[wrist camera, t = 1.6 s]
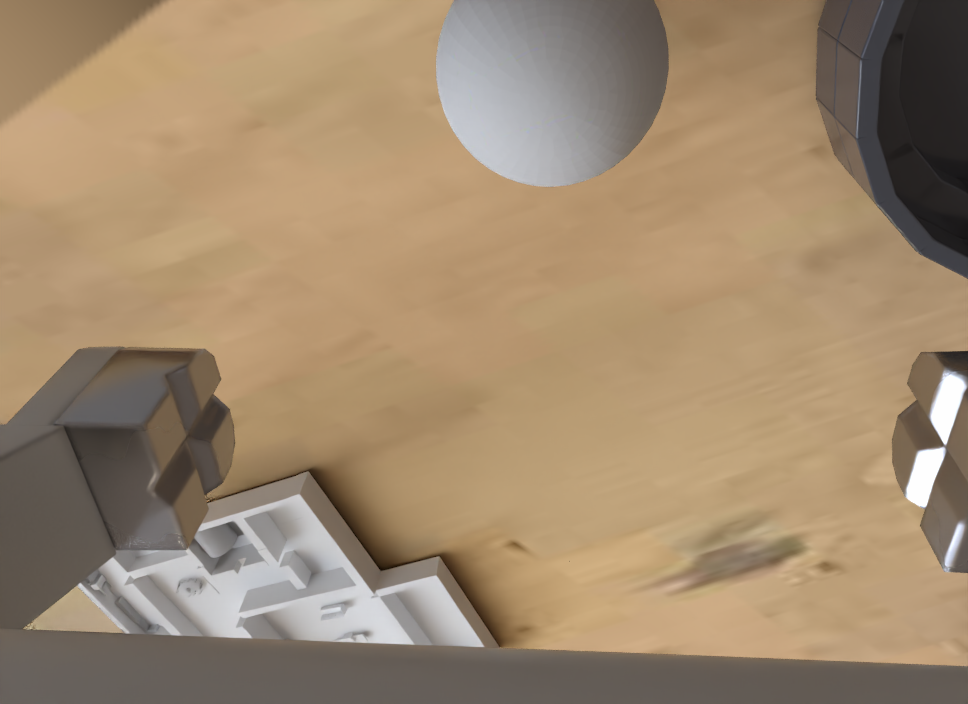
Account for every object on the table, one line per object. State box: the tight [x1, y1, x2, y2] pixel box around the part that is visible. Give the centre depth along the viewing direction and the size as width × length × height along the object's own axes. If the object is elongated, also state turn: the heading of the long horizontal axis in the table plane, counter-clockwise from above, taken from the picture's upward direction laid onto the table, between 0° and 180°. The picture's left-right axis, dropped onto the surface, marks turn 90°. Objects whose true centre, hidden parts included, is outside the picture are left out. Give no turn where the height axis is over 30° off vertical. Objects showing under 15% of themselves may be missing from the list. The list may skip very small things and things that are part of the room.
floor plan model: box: [77, 471, 570, 648], centre depth 43 cm, size 19×25×2 cm
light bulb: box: [436, 0, 669, 187], centre depth 22 cm, size 6×6×10 cm
